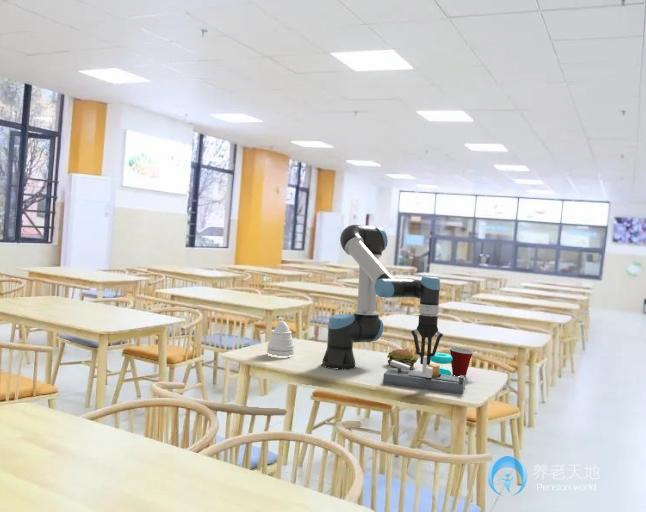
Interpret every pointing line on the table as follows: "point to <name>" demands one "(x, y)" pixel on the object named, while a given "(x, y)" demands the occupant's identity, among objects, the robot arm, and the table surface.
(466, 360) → the plastic cup
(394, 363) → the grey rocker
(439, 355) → the donuts
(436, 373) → the orange button
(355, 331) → the robot arm
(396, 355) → the food
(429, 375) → the slider knob
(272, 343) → the honey pot
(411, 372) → the console panel
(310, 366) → the table surface
